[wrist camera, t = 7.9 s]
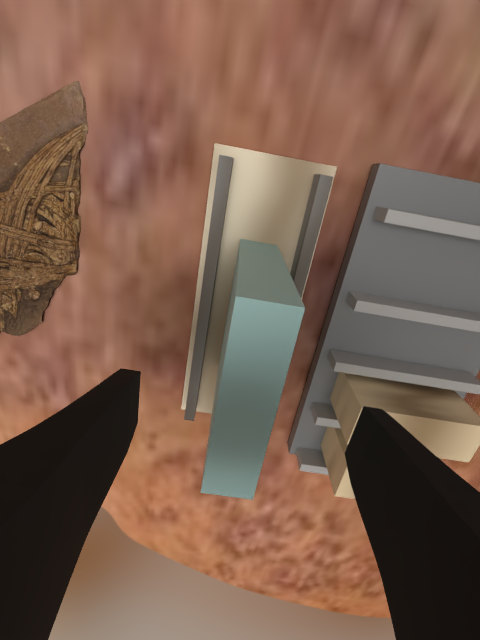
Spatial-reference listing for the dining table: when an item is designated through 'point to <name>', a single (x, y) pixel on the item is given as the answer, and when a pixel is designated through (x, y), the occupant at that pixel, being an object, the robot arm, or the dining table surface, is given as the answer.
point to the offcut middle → (411, 412)
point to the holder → (256, 225)
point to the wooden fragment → (39, 204)
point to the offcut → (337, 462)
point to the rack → (399, 298)
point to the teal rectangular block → (251, 369)
